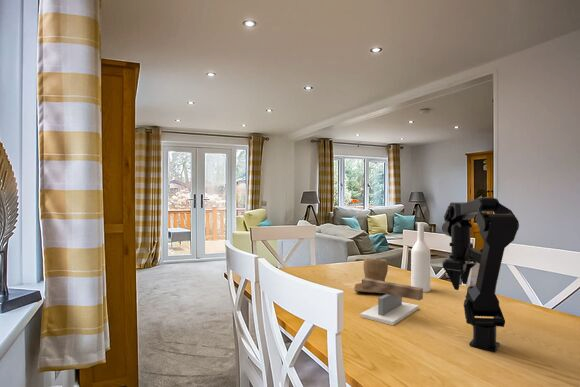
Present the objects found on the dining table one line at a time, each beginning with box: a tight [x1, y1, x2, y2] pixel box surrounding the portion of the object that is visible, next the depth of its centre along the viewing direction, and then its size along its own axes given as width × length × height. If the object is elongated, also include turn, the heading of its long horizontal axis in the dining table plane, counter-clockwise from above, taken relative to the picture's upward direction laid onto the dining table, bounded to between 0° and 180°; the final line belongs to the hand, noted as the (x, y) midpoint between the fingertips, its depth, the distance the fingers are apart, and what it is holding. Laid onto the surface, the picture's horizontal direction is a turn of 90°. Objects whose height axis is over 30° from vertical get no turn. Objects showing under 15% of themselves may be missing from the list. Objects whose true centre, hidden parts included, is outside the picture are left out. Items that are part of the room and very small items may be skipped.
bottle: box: [410, 221, 431, 293], centre depth 156 cm, size 8×8×30 cm
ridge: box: [359, 293, 419, 326], centre depth 126 cm, size 22×12×7 cm, turn 139°
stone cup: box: [353, 257, 389, 294], centre depth 153 cm, size 15×12×15 cm
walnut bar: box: [361, 277, 424, 301], centre depth 126 cm, size 22×3×4 cm, turn 49°
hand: (460, 286), depth 116 cm, fingers open, 9 cm apart
